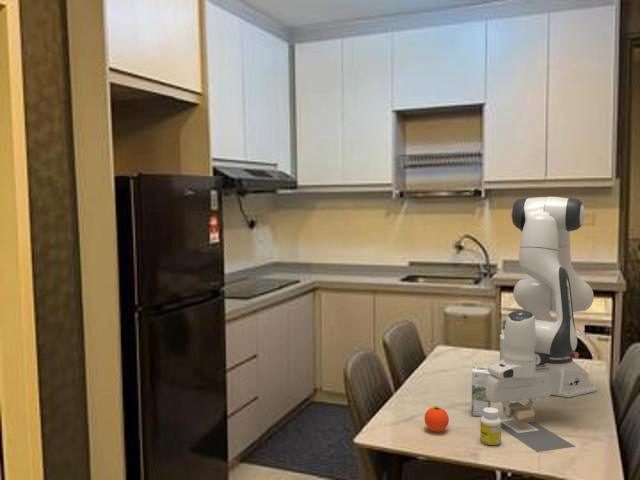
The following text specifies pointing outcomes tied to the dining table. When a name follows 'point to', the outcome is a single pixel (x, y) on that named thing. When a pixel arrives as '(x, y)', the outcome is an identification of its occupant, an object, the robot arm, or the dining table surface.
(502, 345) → the supplement box
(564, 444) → the mat
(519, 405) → the shiny reflective rectangular block
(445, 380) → the dining table surface
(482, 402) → the syrup box
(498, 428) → the supplement bottle
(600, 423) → the dining table surface
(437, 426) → the clementine
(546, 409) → the dining table surface
